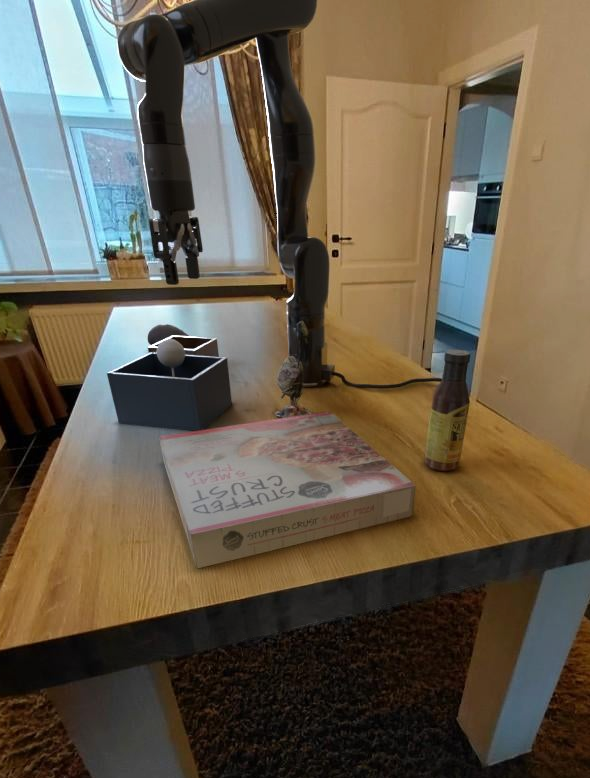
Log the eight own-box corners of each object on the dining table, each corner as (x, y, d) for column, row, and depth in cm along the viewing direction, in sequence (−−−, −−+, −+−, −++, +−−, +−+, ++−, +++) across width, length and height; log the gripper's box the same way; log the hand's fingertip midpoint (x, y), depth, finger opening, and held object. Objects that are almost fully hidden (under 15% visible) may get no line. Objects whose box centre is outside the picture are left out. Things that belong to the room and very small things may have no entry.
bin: (232, 403, 114) (227, 357, 108) (200, 431, 100) (192, 380, 95) (159, 397, 117) (150, 352, 112) (118, 423, 104) (106, 373, 98)
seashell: (148, 362, 151) (142, 336, 146) (153, 340, 166) (148, 315, 161) (196, 359, 154) (191, 333, 149) (196, 337, 168) (192, 313, 163)
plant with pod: (305, 404, 114) (303, 313, 103) (316, 422, 105) (315, 324, 94) (270, 407, 112) (264, 314, 102) (278, 426, 103) (273, 326, 92)
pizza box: (329, 411, 96) (415, 485, 71) (329, 436, 99) (412, 516, 74) (158, 436, 85) (190, 534, 60) (164, 464, 88) (196, 568, 63)
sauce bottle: (451, 476, 85) (469, 360, 74) (418, 467, 88) (430, 353, 77) (464, 462, 90) (483, 350, 79) (432, 453, 92) (446, 345, 82)
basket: (219, 363, 142) (216, 338, 138) (198, 377, 131) (195, 350, 127) (176, 360, 145) (172, 335, 141) (152, 373, 133) (147, 347, 130)
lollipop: (197, 408, 109) (189, 338, 107) (175, 408, 104) (166, 334, 102) (179, 411, 113) (171, 343, 111) (157, 411, 108) (148, 340, 106)
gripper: (168, 176, 78) (184, 287, 87) (207, 180, 90) (217, 277, 99) (126, 176, 80) (146, 286, 88) (169, 179, 91) (183, 276, 100)
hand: (184, 281), depth 93 cm, fingers open, 8 cm apart
